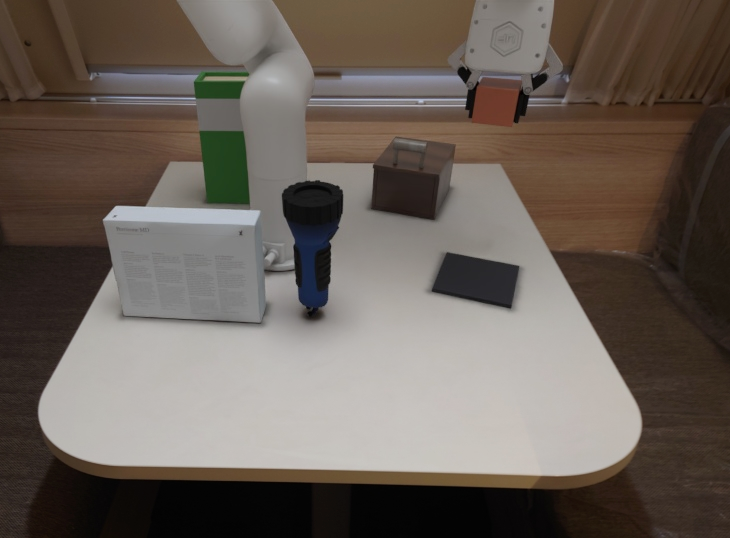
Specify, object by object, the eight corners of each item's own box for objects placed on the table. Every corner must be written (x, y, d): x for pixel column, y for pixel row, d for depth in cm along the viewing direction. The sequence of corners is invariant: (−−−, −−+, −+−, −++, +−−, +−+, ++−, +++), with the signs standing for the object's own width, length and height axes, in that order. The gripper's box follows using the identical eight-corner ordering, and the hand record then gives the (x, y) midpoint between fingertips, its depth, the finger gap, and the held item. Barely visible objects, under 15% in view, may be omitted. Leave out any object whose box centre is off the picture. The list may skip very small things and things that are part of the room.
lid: (439, 178, 105) (443, 148, 102) (372, 168, 109) (374, 139, 106) (455, 147, 117) (459, 120, 114) (395, 140, 121) (397, 113, 118)
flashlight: (285, 333, 82) (281, 206, 71) (285, 301, 89) (282, 180, 77) (341, 332, 82) (346, 205, 71) (337, 300, 89) (341, 179, 77)
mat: (510, 308, 87) (511, 305, 86) (431, 291, 91) (432, 288, 90) (518, 268, 96) (519, 265, 95) (446, 254, 100) (446, 251, 99)
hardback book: (296, 188, 123) (293, 71, 109) (293, 204, 116) (291, 82, 103) (213, 187, 123) (201, 71, 110) (207, 202, 117) (193, 81, 104)
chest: (434, 219, 110) (439, 176, 105) (371, 208, 114) (373, 167, 110) (449, 188, 122) (455, 148, 117) (391, 179, 126) (395, 140, 121)
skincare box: (267, 302, 88) (262, 209, 79) (261, 324, 84) (255, 227, 75) (134, 295, 90) (114, 203, 81) (121, 316, 86) (99, 221, 77)
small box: (511, 127, 80) (519, 90, 77) (471, 122, 81) (477, 86, 78) (515, 115, 84) (522, 80, 81) (476, 111, 85) (482, 76, 83)
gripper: (445, -25, 72) (428, 119, 82) (594, -20, 67) (556, 133, 77) (455, -31, 78) (439, 104, 88) (593, -27, 72) (558, 116, 83)
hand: (494, 116), depth 82 cm, fingers closed on small box, 5 cm apart
